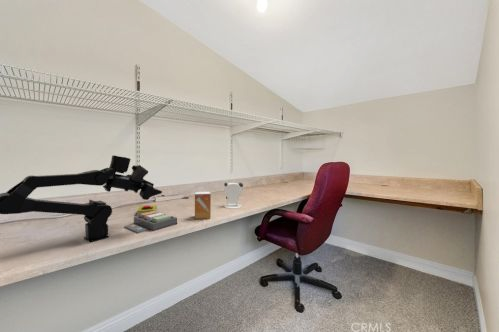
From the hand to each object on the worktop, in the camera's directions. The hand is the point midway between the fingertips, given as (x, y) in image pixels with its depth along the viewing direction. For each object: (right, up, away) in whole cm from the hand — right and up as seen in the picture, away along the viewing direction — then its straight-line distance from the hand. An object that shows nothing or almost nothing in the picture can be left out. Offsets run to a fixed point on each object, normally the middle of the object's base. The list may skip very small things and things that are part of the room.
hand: (157, 188), depth 106 cm
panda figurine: (+33, -15, +35) cm, 51 cm away
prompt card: (-6, -17, -8) cm, 20 cm away
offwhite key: (-1, -14, 0) cm, 14 cm away
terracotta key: (-5, -14, +3) cm, 15 cm away
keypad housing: (-1, -17, 0) cm, 17 cm away
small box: (+19, -16, +11) cm, 28 cm away
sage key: (+4, -15, -4) cm, 15 cm away
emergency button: (-14, -16, +19) cm, 28 cm away
